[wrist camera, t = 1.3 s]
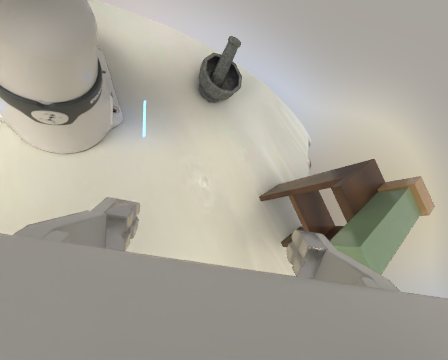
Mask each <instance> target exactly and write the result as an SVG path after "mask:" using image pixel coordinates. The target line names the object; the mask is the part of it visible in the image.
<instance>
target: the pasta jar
mask: <svg viewBox="0 0 448 360" xmlns="http://www.w3.org/2000/svg"><path fill="white" fill-rule="evenodd" d="M377 191H378V192H377V193H376V194H375V195H374V196H373V197H372V198H371V199H370V200H369V201H368V202H367V203H366V205H365V206H364V207H363V208H362V209H361V210H360V211H359V212H358V213H357V214H356V215H355V216H354V217H353V218H352V219H351V220H350V221H349V222H348V223H347V224H346V225H345V226H344V227H343V228H342V229H341V230H340V231H339V232H338V233H337V234H336V235H335V236H334V237H333V238H332V239H331V240H330V243H331V244H332V245H333V246H334V247H335V248H336V249H337V251H338V252H342V253H344V254H345V255H347V256H349V257H350V258H352V259H354V260H356V261H357V262H359V263H361V264H362V265H364V266H366V267H368V268H369V269H371V270H373V271H374V272H376V273H378V274H379V275H381V274H382V273H383V271H384V270H385V268H386V267H387V265H388V264H389V262H390V261H391V259H392V257H393V256H394V254H395V253H396V251H397V250H398V248H399V247H400V245H401V244H402V242H403V241H404V239H405V238H406V236H407V234H408V233H409V231H410V230H411V228H412V227H413V225H414V224H415V222H416V221H417V219H418V218H419V216H425V215H430V213H431V212H432V210H433V208H434V207H435V206H434V204H433V202H432V199H431V197H430V195H429V193H428V191H427V188H426V186H425V184H424V182H423V180H422V178H421V177H420V176H419V177H413V178H408V179H402V180H396V181H390V182H385V183H383V184H382V185H381V186H380V187H379V188H378V189H377Z"/></svg>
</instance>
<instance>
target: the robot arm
mask: <svg viewBox="0 0 448 360" xmlns="http://www.w3.org/2000/svg"><path fill="white" fill-rule="evenodd" d="M113 110H114V111H116V113H113ZM0 121H2V122H4V123H6V124H8V125H9V126H10V127H11V128H12V129H13V130H14V132H15V133H16V134H17V135H18V136H19V137H20V138H22V139H23V140H24V141H25V142H27V143H29V144H30V145H32V146H34V147H36V148H39V149H41V150H44V151H48V152H53V153H63V154H66V153H76V152H81V151H84V150H87V149H89V148H91V147H93V146H95V145H96V144H97V143H99V142H100V141H101V140H102V139H103V138H104V136H105V135H106V134H107V132H108V131H109V130H110V129H112V128H114V127H116V126H118V125H119V124H121V123H122V121H123V115H122V112H121V109H120V106H119V102H118V99H117V96H116V93H115V89H114V86H113V83H112V79H111V76H110V73H109V70H108V66H107V63H106V60H105V57H104V54H103V52H102V50H101V49H99V48H98V47H97V26H96V21H95V17H94V15H93V12H92V10H91V7H90V6H89V4H88V2H87V0H0ZM145 124H146V101H145V100H144V111H143V137H145ZM139 212H140V203H137V202H132V201H126V200H121V199H117V198H110V197H107V198H105V199H104V200H103V201H102V202H101V203H100V204H98V205H97V206H96V207H95V208H94V209H93V210H91V211H83V212H79V213H75V214H71V215H67V216H63V217H59V218H55V219H51V220H47V221H42V222H38V223H34V224H30V225H27V226H26V227H24V228H23V229H21V230H19V231H18V232H16V233H15V234H13V235H8V234H1V233H0V360H448V299H447V298H440V297H433V296H426V295H420V294H413V293H405V292H401V291H400V290H399V289H398V288H397V287H395V285H394V284H392V283H391V281H390V280H388V279H386V278H385V277H383V276H381V275H379V274H378V273H376V272H374V271H373V270H371V269H369V268H368V267H366V266H364V265H362V264H361V263H359V262H357V261H356V260H354V259H352V258H350V257H349V256H347V255H345V254H344V253H342V252H338V251H337V249H336V248H335V247H334V246H333V245H332V244H331V243H330V241H329V240H328V239H327V238H326V237H325V236H324V235H323V234H320V233H314V232H307V231H300V230H295V231H294V232H293V234H292V236H291V237H292V240H293V241H292V242H291V243H289V245H288V248H287V258H288V261H289V262H290V263H291V264H292V265H293V267H292V269H293V271H294V273H295V275H296V276H289V275H282V274H275V273H269V272H262V271H255V270H248V269H241V268H234V267H228V266H221V265H214V264H207V263H200V262H193V261H187V260H180V259H173V258H166V257H159V256H152V255H146V254H139V253H132V252H125V250H126V249H127V247H128V245H129V244H130V239H132V238H133V237H134V235H135V233H136V230H137V227H138V221H139V219H138V218H137V215H138V213H139Z"/></svg>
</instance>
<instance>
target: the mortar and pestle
mask: <svg viewBox="0 0 448 360" xmlns="http://www.w3.org/2000/svg"><path fill="white" fill-rule="evenodd" d="M240 45H241V42H240V41H239V40H238V39H237V38H235V37H233V36H230V37H229V39H228V44H227V46H226V48H225V50H224V51H223V53H222V55H221V54H216V53H212V54H211V55H209V56H208V57H206V58H205V59H204V60H203V62H202V65H201V68H200V75H199V82H200V83H199V91H200V93H201V95H202V97H203V98H205V99H206V100H208V101H209V102H217V101H218V100H219V99H220V100H226V99H228V98H229V97H231V96H232V95H233V94H234V93H236V92H237V91H238V90H239V89H240V88H241V79H242V76H241V74H240V72H239V70H238V68H237V66H236V64H235V63H234V62H232V61H233V58H234V55H235V54H236V51H237V49H238V47H240Z"/></svg>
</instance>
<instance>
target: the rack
mask: <svg viewBox="0 0 448 360" xmlns="http://www.w3.org/2000/svg"><path fill="white" fill-rule="evenodd" d="M383 183H385V181H384V179H383V177H382V174H381V172H380V170H379V168H378V166H377V164H376V161H375V159H371V160H368V161H364V162H361V163H357V164H353V165H349V166H345V167H342V168H338V169H334V170H331V171H327V172H323V173H320V174H316V175H312V176H308V177H305V178H301V179H297V180H293V181H290V182H286V183H282V184H279V185H277V186H276V187H274V188H273V189H271V190H269V191H268V192H266V193H264V194H263V195H261V196H260V197H259V198H260V200H261V201H264V200H269V199H274V198H280V197H285V196H289V198H290V200H291V202H292V204H293V207H294V209H295V211H296V213H297V215H298V217H299V219H300V221H301V223H302V226H303V227H299V228H298V229H297V230H300V231H307V232H314V233H320V234H323V235H324V236H325V237H326V238H327V239H328V240H329V241H330V240H331V239H332V238H333V237H334V236H335V235H336V234H337V233H338V232H339V231H340V230H341V229H342V228H343V227H344V226H335V225H334V223H333V220H332V218H331V216H330V214H329V212H328V210H327V208H326V205H325V203H324V201H323V199H322V197H321V195H320V193H319V190H321V189H326V188H331V187H332V188H331V189H332V191H333V193H334V195H335V198H336V199H337V202H338V204H339V206H340V208H341V210H342V213H343V215H344V217H345V219H346V221H347V223H348V222H349V221H350V220H351V219H352V218H353V217H354V216H355V215H356V214H357V213H358V212H359V211H360V210H361V209H362V208H363V207H364V206H365V205H366V203H367V202H368V201H369V200H370V199H371V198H372V197H373V196H374V195H375V194H376V193H377V192H378V191H377V189H378V188H379V187H380V186H381V185H382V184H383ZM292 234H293V233H292ZM292 234H291V235H290V236H288V237H287V238H286V239H285V240H284V241H283V242H281V244H282V246H283V247H288V245H289V243H291V242H292V241H293V240H292V237H291V236H292Z"/></svg>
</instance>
